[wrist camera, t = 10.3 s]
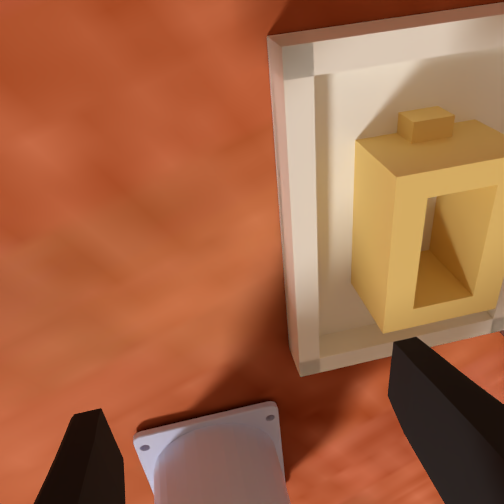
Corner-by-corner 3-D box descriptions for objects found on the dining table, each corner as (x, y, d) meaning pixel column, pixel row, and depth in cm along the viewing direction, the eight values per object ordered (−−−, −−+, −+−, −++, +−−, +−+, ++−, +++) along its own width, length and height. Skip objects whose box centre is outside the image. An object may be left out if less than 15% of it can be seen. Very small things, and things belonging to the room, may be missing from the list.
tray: (484, 304, 26) (507, 329, 24) (289, 347, 24) (300, 377, 23) (559, -7, 17) (603, -1, 16) (266, 36, 16) (281, 46, 14)
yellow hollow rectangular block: (355, 119, 18) (398, 154, 15) (478, 98, 18) (543, 128, 15) (350, 295, 22) (381, 347, 20) (447, 275, 23) (491, 322, 20)
